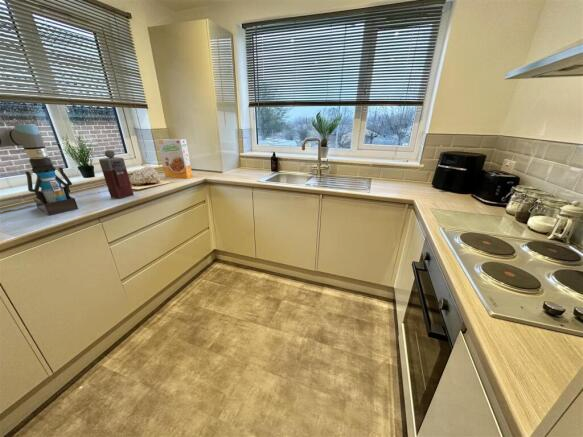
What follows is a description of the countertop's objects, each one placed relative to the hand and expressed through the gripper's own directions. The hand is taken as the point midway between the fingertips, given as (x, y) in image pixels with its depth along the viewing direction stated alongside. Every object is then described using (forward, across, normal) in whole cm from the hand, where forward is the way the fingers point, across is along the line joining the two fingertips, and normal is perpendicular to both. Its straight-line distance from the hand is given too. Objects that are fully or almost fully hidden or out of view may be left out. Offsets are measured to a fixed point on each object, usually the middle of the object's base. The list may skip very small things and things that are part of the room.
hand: (57, 201), depth 126 cm
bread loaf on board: (+5, +52, +17) cm, 55 cm away
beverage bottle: (+4, 0, 0) cm, 4 cm away
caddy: (+5, 0, +6) cm, 7 cm away
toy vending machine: (+5, +30, -1) cm, 30 cm away
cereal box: (+5, +81, +21) cm, 84 cm away
